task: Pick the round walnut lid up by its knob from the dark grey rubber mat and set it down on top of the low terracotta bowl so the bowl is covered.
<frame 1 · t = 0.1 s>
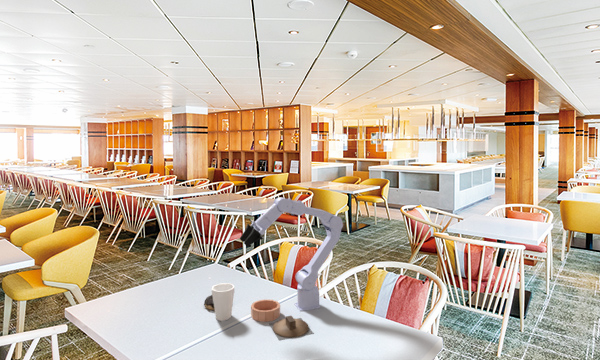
hand: (243, 242, 155), 32 cm above the table, tool tilted 50°, fingers open, 7 cm apart
bowl: (265, 315, 159), on the table
lid: (290, 328, 147), resting on mat
donut: (216, 306, 170), on the table
foam cup: (223, 317, 158), on the table
mat: (290, 329, 147), on the table
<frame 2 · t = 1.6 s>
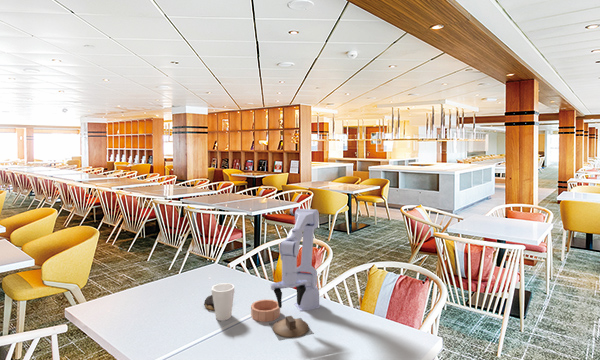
hand: (289, 305, 146), 10 cm above the table, tool pointing down, fingers open, 7 cm apart
nothing on the table moved.
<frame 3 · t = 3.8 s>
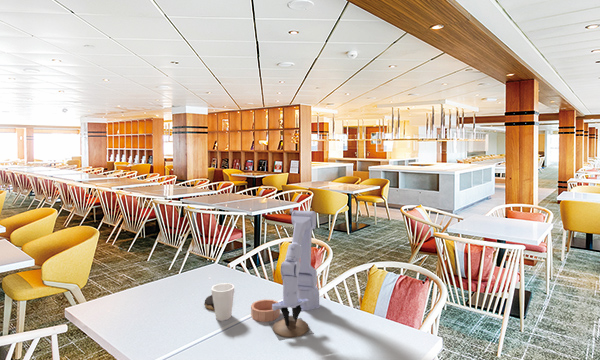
hand: (290, 324, 147), 2 cm above the table, tool pointing down, fingers closed on lid, 2 cm apart
lid: (290, 328, 147), resting on mat, touching gripper
everything else where it was.
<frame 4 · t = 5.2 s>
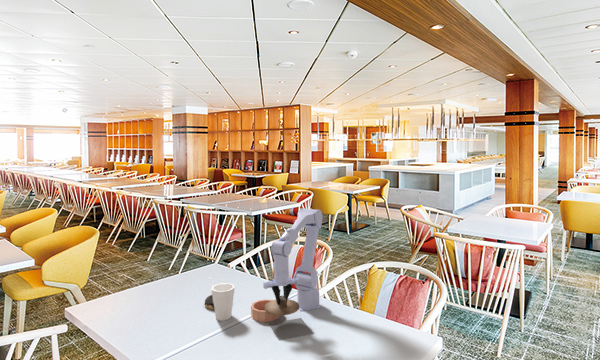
hand: (281, 303, 150), 9 cm above the table, tool pointing down, fingers closed on lid, 2 cm apart
lid: (281, 307, 150), point 7 cm above the table, touching gripper
everything else where it was.
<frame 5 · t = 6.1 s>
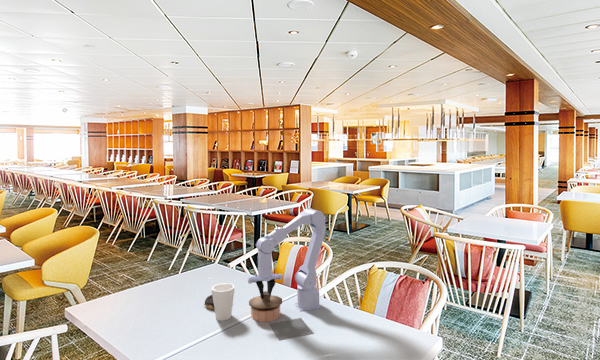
hand: (265, 297, 158), 8 cm above the table, tool pointing down, fingers closed on lid, 2 cm apart
lid: (265, 302, 158), point 6 cm above the table, touching gripper
everything else where it was.
when the fingers open (7 cm above the table, at t = 6.8 s): lid stays where it is, resting on bowl.
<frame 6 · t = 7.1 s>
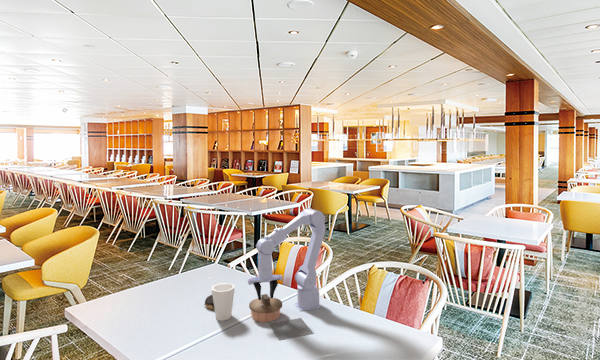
hand: (265, 298, 158), 8 cm above the table, tool pointing down, fingers open, 5 cm apart
lid: (265, 305, 158), point 4 cm above the table, touching bowl
everything else where it was.
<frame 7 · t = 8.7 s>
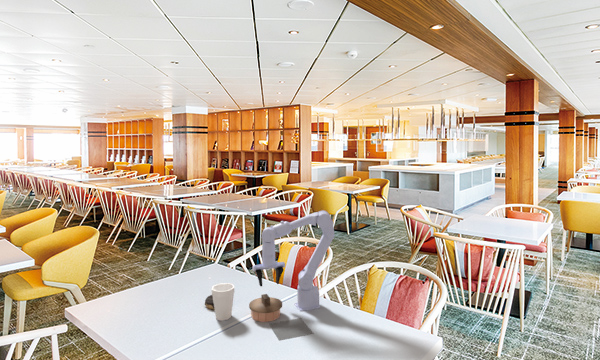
hand: (269, 284, 167), 10 cm above the table, tool pointing down, fingers open, 7 cm apart
nothing on the table moved.
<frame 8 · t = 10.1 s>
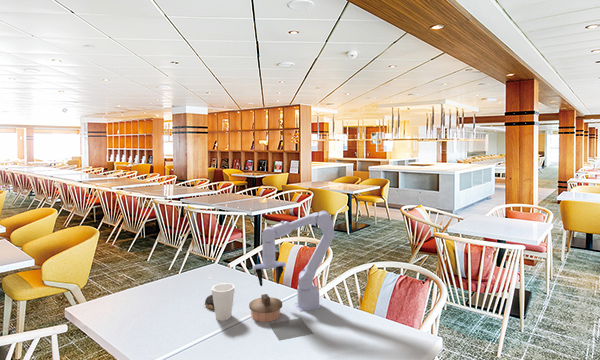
hand: (269, 284, 167), 10 cm above the table, tool pointing down, fingers open, 7 cm apart
nothing on the table moved.
at the end: lid 0.3 cm from the bowl (horizontally); lid 0.3 cm off-centre on the bowl, point 4.5 cm above the bowl's base; lid tilted 0° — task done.
